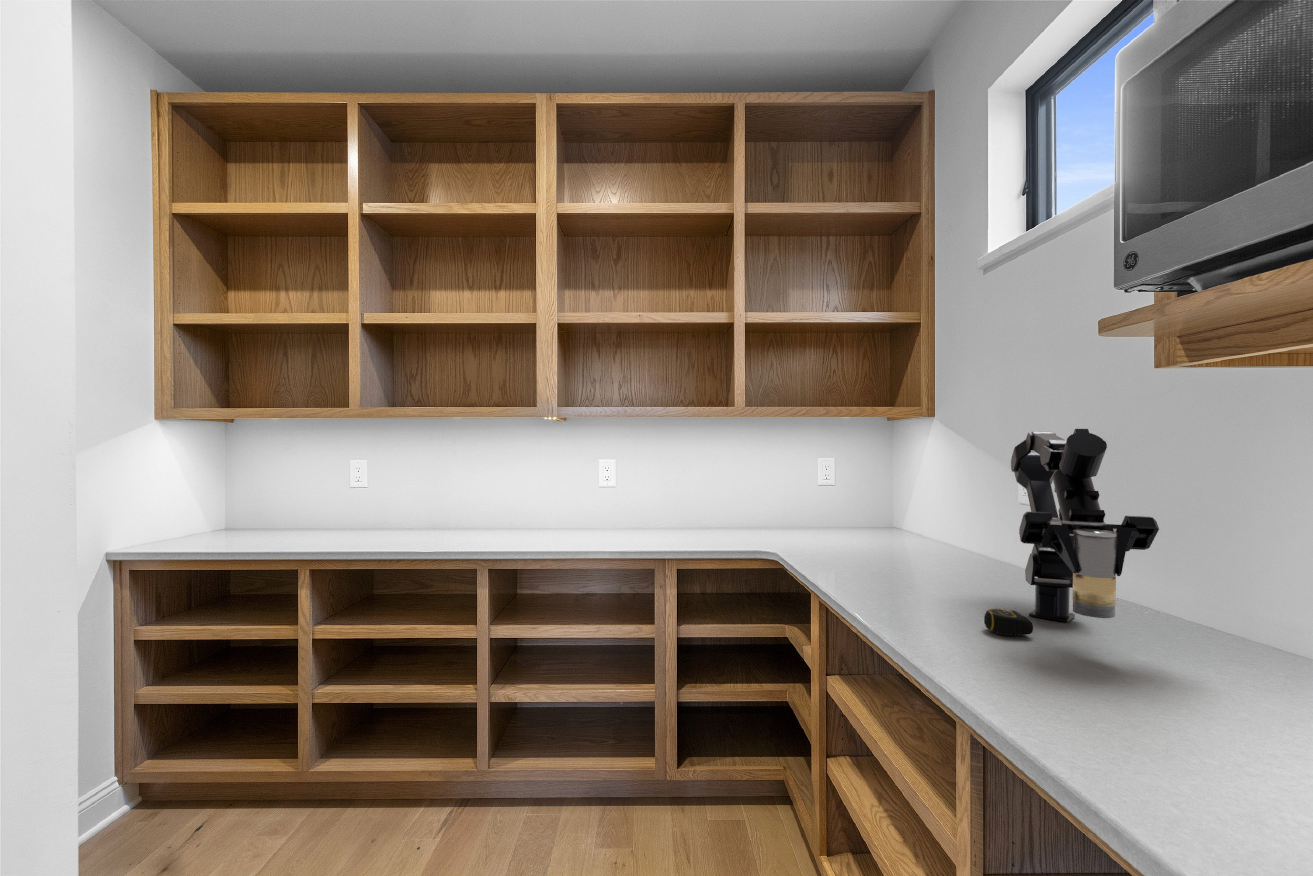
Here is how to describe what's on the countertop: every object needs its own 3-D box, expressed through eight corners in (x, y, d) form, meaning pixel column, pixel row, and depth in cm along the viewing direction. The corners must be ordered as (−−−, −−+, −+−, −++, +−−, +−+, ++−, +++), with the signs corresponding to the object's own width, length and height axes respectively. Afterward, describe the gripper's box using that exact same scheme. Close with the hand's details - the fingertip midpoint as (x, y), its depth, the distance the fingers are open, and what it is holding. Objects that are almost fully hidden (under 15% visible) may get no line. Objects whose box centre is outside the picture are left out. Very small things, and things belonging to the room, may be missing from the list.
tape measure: (1034, 640, 113) (1035, 618, 113) (992, 638, 114) (992, 616, 114) (1018, 629, 120) (1018, 608, 120) (978, 627, 121) (978, 606, 121)
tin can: (1076, 606, 109) (1078, 527, 109) (1119, 613, 105) (1120, 531, 104) (1067, 613, 104) (1069, 531, 104) (1111, 620, 100) (1113, 535, 100)
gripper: (1126, 528, 116) (1151, 606, 106) (1008, 522, 122) (1021, 596, 111) (1145, 486, 109) (1174, 566, 98) (1019, 483, 114) (1033, 558, 104)
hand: (1097, 573), depth 103 cm, fingers closed on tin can, 6 cm apart
